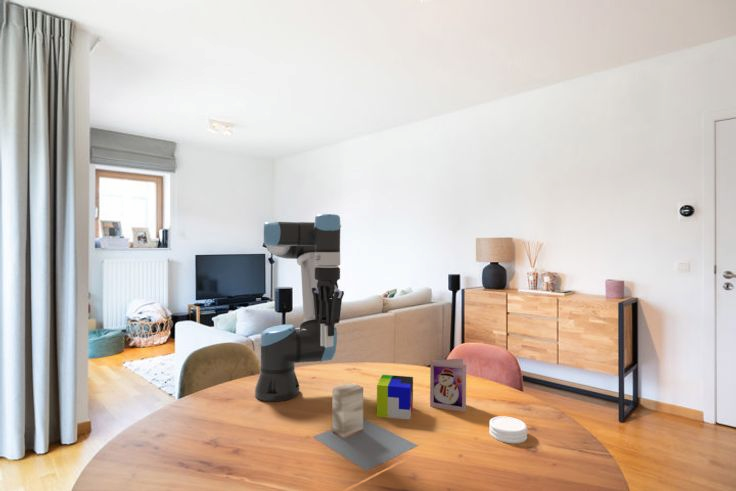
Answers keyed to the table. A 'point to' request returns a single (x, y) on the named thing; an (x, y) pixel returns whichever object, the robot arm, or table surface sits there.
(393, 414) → the puzzle toy
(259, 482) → the table surface
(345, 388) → the birch block
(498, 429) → the white round disc stack
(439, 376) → the greeting card
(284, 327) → the robot arm
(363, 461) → the slate mat
